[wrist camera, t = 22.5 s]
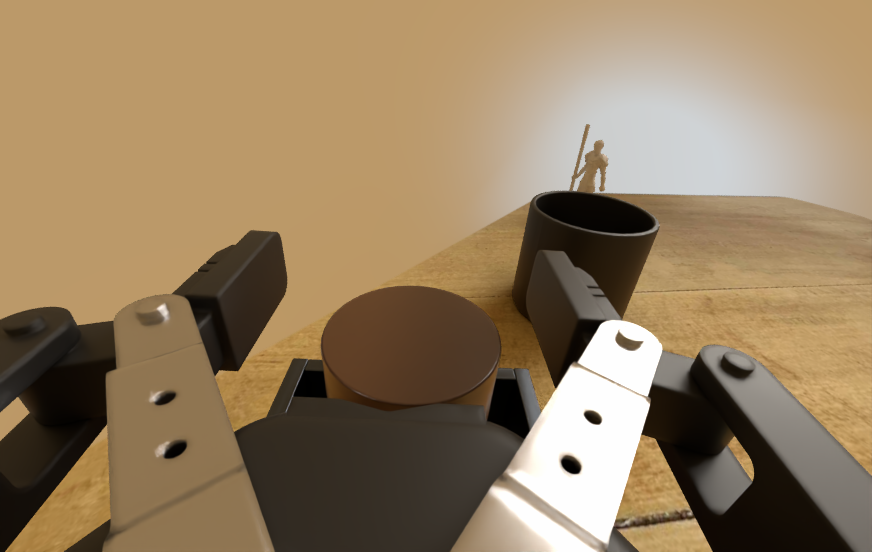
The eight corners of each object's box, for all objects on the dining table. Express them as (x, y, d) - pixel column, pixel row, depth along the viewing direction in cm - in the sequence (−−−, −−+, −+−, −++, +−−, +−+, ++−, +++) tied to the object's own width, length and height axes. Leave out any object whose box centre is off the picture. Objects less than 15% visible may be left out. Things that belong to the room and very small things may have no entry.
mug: (577, 265, 40) (602, 182, 35) (643, 338, 30) (690, 236, 25) (492, 265, 39) (507, 179, 34) (531, 342, 28) (559, 235, 24)
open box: (173, 764, 11) (119, 734, 9) (302, 411, 22) (292, 357, 20) (590, 766, 11) (638, 737, 9) (514, 420, 22) (528, 368, 20)
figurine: (551, 214, 53) (573, 124, 47) (573, 207, 56) (596, 122, 49) (583, 227, 49) (611, 132, 43) (604, 219, 52) (633, 130, 46)
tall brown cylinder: (332, 599, 14) (294, 400, 8) (357, 470, 18) (343, 280, 12) (465, 603, 14) (517, 410, 8) (458, 474, 18) (489, 289, 13)
